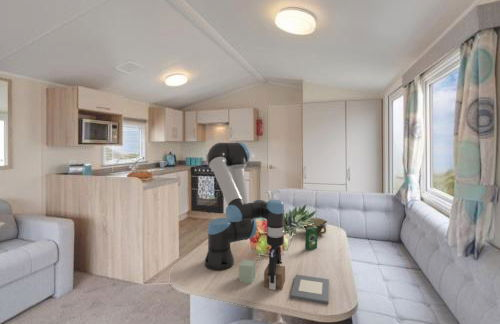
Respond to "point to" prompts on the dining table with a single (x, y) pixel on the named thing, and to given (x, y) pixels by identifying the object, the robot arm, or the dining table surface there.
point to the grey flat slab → (311, 289)
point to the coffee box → (311, 238)
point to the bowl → (318, 224)
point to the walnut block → (279, 277)
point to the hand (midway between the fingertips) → (274, 283)
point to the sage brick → (247, 271)
